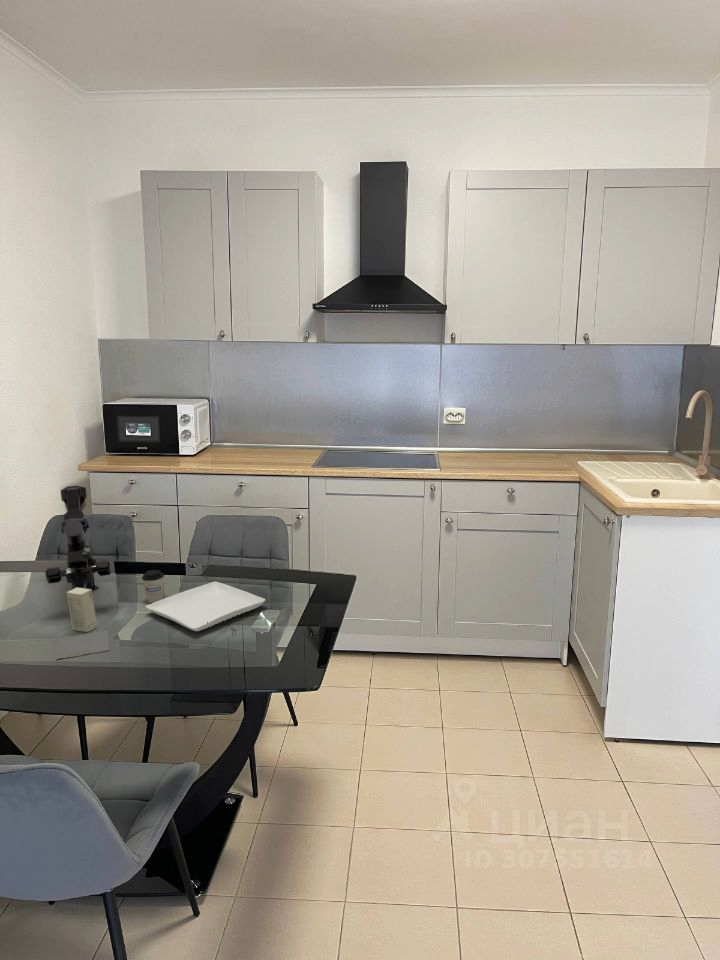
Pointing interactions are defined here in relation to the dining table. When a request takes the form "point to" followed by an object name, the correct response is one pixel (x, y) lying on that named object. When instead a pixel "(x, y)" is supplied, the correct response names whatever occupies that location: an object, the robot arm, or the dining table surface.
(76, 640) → the mat
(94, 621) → the skincare box
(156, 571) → the coffee cup
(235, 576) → the dining table surface
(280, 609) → the dining table surface
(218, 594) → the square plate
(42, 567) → the dining table surface
